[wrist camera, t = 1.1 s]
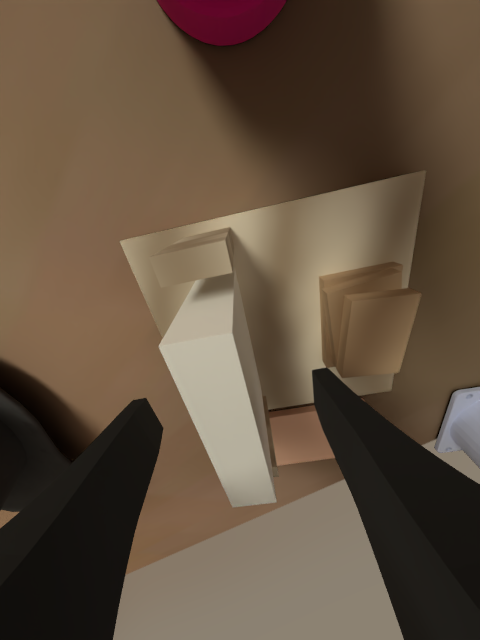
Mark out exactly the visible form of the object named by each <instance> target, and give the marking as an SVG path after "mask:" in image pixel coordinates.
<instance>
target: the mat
mask: <svg viewBox="0 0 480 640" xmlns="http://www.w3.org/2000/svg"><path fill="white" fill-rule="evenodd" d="M361 399H362V400H363V401H365V400H364V399H363V398H361ZM269 417H270V424H271V430H272V437H273V443H274V449H275V456H276V462H277V466H278V465H286V464H293V463H301V462H309V461H316V460H324V459H331V458H335V456H334V454H333V452H332V449H331V447H330V445H329V443H328V440H327V438H326V436H325V434H324V432H323V429H322V426H321V424H320V421H319V418H318V415H317V412H316V409H315V406H314V405H311V406H305V407H298V408H292V409H285V410H279V411H272V412H269Z"/></svg>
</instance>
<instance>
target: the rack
mask: <svg viewBox="0 0 480 640" xmlns="http://www.w3.org/2000/svg"><path fill="white" fill-rule="evenodd" d="M425 175H426V170H424V171H419V172H414V173H409V174H405V175H401V176H396V177H392V178H388V179H383V180H379V181H375V182H371V183H366V184H362V185H358V186H353V187H349V188H345V189H340V190H336V191H332V192H327V193H323V194H319V195H315V196H310V197H306V198H302V199H297V200H293V201H289V202H284V203H280V204H276V205H271V206H267V207H263V208H259V209H254V210H250V211H246V212H241V213H237V214H233V215H228V216H224V217H220V218H215V219H211V220H207V221H203V222H198V223H194V224H190V225H185V226H181V227H177V228H172V229H168V230H164V231H160V232H155V233H151V234H147V235H142V236H138V237H134V238H129V239H126V240H122V241H120V244H121V246H122V248H123V250H124V253H125V255H126V257H127V259H128V262H129V264H130V266H131V268H132V271H133V273H134V275H135V277H136V280H137V282H138V284H139V287H140V289H141V291H142V293H143V296H144V298H145V300H146V302H147V305H148V307H149V309H150V311H151V314H152V316H153V318H154V320H155V323H156V325H157V327H158V330H159V332H160V334H161V336H162V339H163V337H164V336H165V334H166V332H167V330H168V329H169V327H170V325H171V323H172V322H173V320H174V318H175V316H176V315H177V313H178V311H179V309H180V307H181V306H182V304H183V302H184V300H185V299H186V297H187V295H188V293H189V292H190V290H191V288H192V286H193V284H194V283H195V281H196V280H200V279H205V278H210V277H215V276H220V275H224V274H229V273H233V267H235V271H236V275H237V280H238V284H239V289H240V294H241V298H242V303H243V307H244V312H245V316H246V321H247V326H248V330H249V335H250V339H251V344H252V348H253V353H254V357H255V362H256V367H257V371H258V376H259V380H260V385H261V391H262V398H263V406H264V413H265V421H266V428H267V435H268V443H269V450H270V458H271V465H272V473H273V477H279V475H278V469H277V462H276V456H275V449H274V443H273V437H272V430H271V424H270V417H269V411H268V410H270V409H276V408H283V407H289V406H296V405H302V404H309V403H314V395H313V381H312V370H315V369H320V368H326V366H325V364H324V363H323V361H322V340H321V314H320V289H319V276H324V275H329V274H334V273H339V272H344V271H348V270H353V269H358V268H363V267H368V266H373V265H378V264H383V263H388V262H396V263H399V264H402V265H403V270H402V289H404V288H408V282H409V276H410V270H411V264H412V257H413V251H414V245H415V238H416V232H417V226H418V219H419V213H420V207H421V201H422V194H423V188H424V182H425ZM328 369H330V370H331V371H332V372H333V373H334V374H335V375H336V376H337V377H338V378H339V379H340V380H341V381H342V382H343V383H344V384H345V385H347V386H348V387H349V388H350V389H351V390H352V391H353V392H354V393H355V394H357V395H358V396H361V395H367V394H374V393H380V392H387V391H391V390H392V383H393V377H394V373H391V374H381V375H370V376H360V377H350V378H341V376H340V374H339V373H338V371H337V369H336V367H330V368H328Z"/></svg>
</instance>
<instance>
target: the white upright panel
mask: <svg viewBox="0 0 480 640" xmlns="http://www.w3.org/2000/svg"><path fill="white" fill-rule="evenodd" d="M159 349H160V351H161V353H162V355H163V357H164V359H165V362H166V364H167V366H168V368H169V370H170V372H171V375H172V377H173V379H174V381H175V383H176V385H177V388H178V390H179V392H180V394H181V396H182V398H183V401H184V403H185V405H186V407H187V409H188V412H189V414H190V416H191V418H192V420H193V422H194V425H195V427H196V429H197V431H198V433H199V435H200V438H201V440H202V442H203V444H204V446H205V448H206V451H207V453H208V455H209V457H210V459H211V461H212V464H213V466H214V468H215V470H216V472H217V474H218V477H219V479H220V481H221V483H222V485H223V487H224V490H225V492H226V494H227V496H228V498H229V500H230V503H231V505H232V507H241V506H250V505H258V504H267V503H275V502H276V495H275V487H274V480H273V473H272V465H271V458H270V450H269V443H268V435H267V428H266V421H265V413H264V406H263V398H262V391H261V385H260V380H259V376H258V371H257V367H256V362H255V357H254V353H253V348H252V344H251V339H250V335H249V330H248V326H247V321H246V316H245V312H244V307H243V303H242V298H241V294H240V289H239V284H238V280H237V275H236V271H235V267H233V273H229V274H224V275H220V276H215V277H210V278H205V279H200V280H196V281H195V283H194V284H193V286H192V288H191V290H190V292H189V293H188V295H187V297H186V299H185V300H184V302H183V304H182V306H181V307H180V309H179V311H178V313H177V315H176V316H175V318H174V320H173V322H172V323H171V325H170V327H169V329H168V330H167V332H166V334H165V336H164V337H163V339H162V341H161V343H160V345H159Z"/></svg>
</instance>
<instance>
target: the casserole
mask: <svg viewBox="0 0 480 640" xmlns="http://www.w3.org/2000/svg"><path fill="white" fill-rule="evenodd" d="M71 464H72V462H71V461H70V460H69V459H68V458H66V457H65V456H64V455H63V454H62V453H61V452H59V450H58V449H57V448H56V446H55V445H54V443H53V442H52V440H51V439H50V437H49V436H48V434H47V433H46V431H45V430H44V429H43V427H42V426H41V424H40V423H39V421H38V420H37V419H36V418H35V417H34V416H33V415H32V414H31V413H30V412H29V411H28V410H27V409H26V408H25V407H24V406H23V405H22V404H21V403H19V402H18V401H17V400H15V399H14V398H13V397H12V396H10V395H9V394H8V393H6V392H5V391H4V390H2V389H1V388H0V510H6V511H11V512H20V511H22V510H23V509H24V508H25V507H26V506H27V505H28V504H29V503H30V502H32V501H33V500H34V499H35V498H36V497H37V496H38V495H39V494H40V493H42V492H43V491H44V490H45V489H46V488H47V487H48V486H49V485H50V484H51V483H52V482H53V481H54V480H55V479H56V478H57V477H59V476H60V475H61V474H62V473H63V472H64V471H65V470H66V469H67V468H68V467H69V466H70V465H71Z"/></svg>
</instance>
